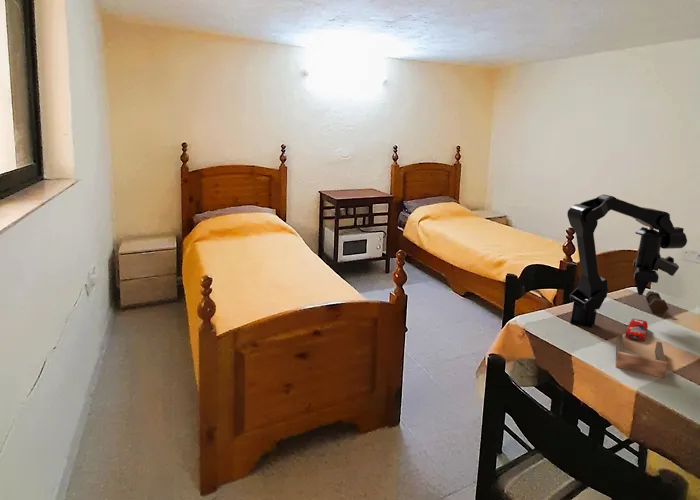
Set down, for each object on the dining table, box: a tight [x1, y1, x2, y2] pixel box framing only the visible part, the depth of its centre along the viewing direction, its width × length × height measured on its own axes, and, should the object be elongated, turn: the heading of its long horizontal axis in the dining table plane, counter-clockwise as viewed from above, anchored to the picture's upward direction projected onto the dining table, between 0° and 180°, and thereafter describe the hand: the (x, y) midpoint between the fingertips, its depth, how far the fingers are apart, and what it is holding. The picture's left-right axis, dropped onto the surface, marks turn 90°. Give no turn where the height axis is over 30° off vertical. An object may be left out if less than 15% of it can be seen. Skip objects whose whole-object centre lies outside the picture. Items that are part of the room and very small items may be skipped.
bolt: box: [644, 290, 669, 315], centre depth 165 cm, size 6×5×15 cm
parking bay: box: [615, 333, 668, 379], centre depth 127 cm, size 11×16×4 cm
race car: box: [624, 318, 649, 342], centre depth 143 cm, size 13×5×4 cm, turn 142°
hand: (640, 294), depth 152 cm, fingers closed
